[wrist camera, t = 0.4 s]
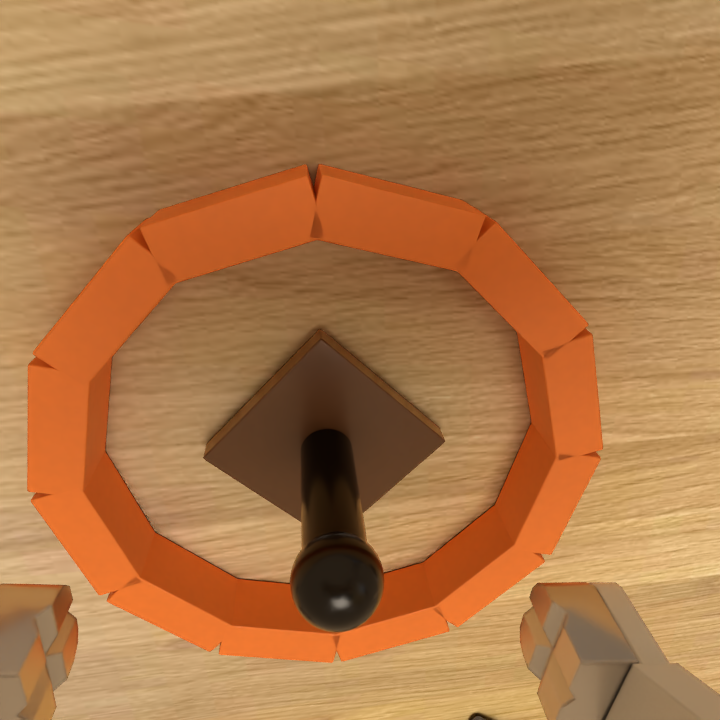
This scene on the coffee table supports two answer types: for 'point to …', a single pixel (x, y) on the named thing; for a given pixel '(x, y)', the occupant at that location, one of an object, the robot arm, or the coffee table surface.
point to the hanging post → (327, 470)
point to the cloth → (478, 718)
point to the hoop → (254, 240)
